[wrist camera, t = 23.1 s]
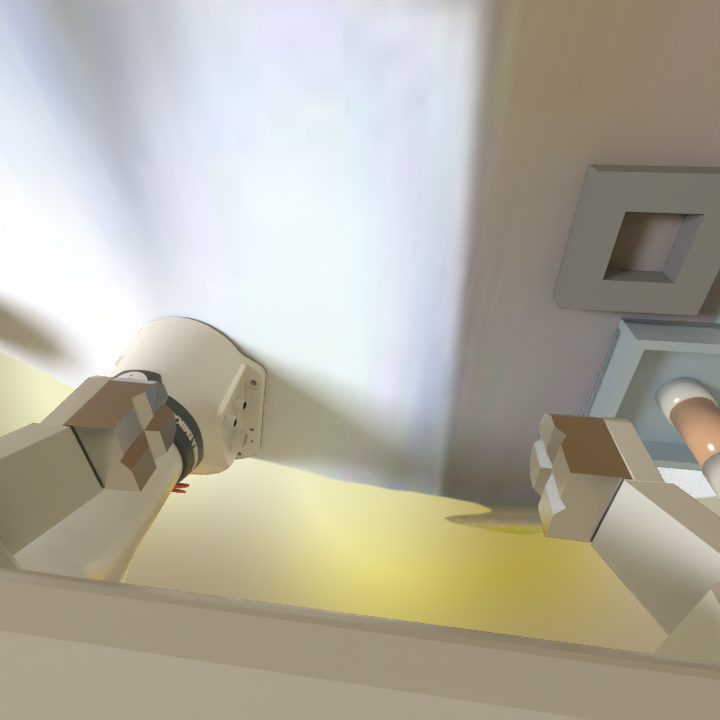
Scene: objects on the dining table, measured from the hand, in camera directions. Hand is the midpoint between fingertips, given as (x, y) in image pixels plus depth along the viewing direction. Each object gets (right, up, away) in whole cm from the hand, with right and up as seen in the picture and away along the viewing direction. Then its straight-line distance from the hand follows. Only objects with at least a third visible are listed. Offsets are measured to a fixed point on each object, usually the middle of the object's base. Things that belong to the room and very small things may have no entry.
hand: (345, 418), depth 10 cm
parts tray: (+34, -2, +38) cm, 51 cm away
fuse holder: (+25, +12, +30) cm, 41 cm away
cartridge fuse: (+34, -2, +37) cm, 50 cm away
